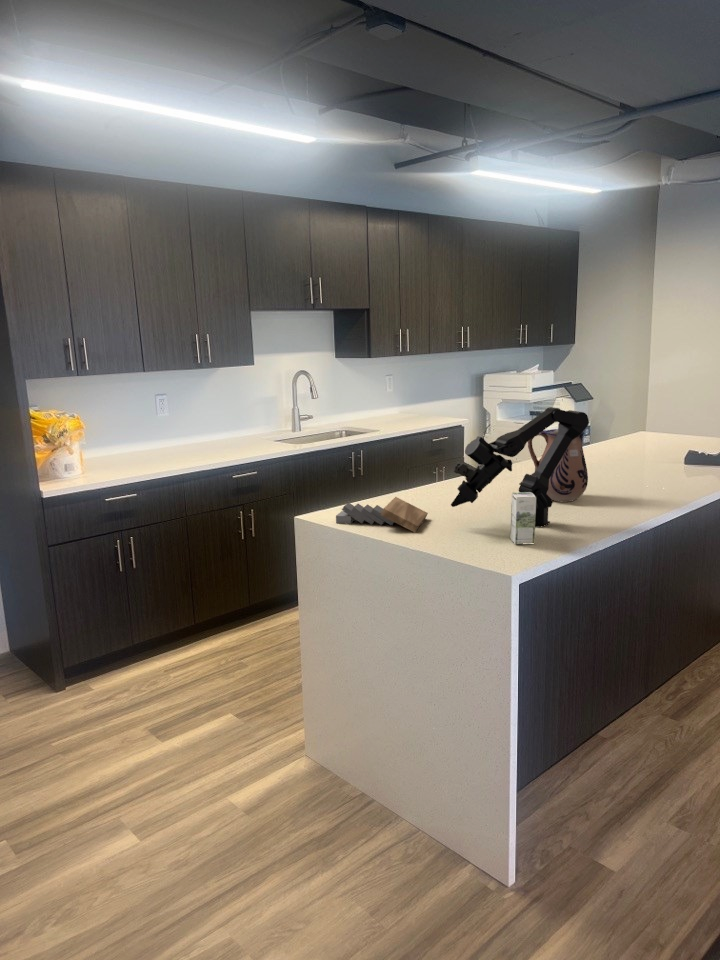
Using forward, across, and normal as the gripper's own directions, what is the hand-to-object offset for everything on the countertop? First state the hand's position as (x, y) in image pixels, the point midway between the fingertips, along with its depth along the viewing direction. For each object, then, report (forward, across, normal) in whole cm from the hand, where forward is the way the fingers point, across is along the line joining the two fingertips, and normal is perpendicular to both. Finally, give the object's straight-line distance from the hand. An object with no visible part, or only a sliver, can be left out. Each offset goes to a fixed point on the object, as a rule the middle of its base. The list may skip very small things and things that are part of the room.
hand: (452, 504), depth 218 cm
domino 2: (+22, +1, -14) cm, 26 cm away
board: (+11, 0, -3) cm, 12 cm away
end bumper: (+30, +1, -20) cm, 36 cm away
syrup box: (-10, +11, +21) cm, 26 cm away
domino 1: (+25, +1, -16) cm, 29 cm away
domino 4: (+18, 0, -9) cm, 20 cm away
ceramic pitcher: (-16, -44, +27) cm, 54 cm away
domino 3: (+20, +1, -11) cm, 23 cm away
